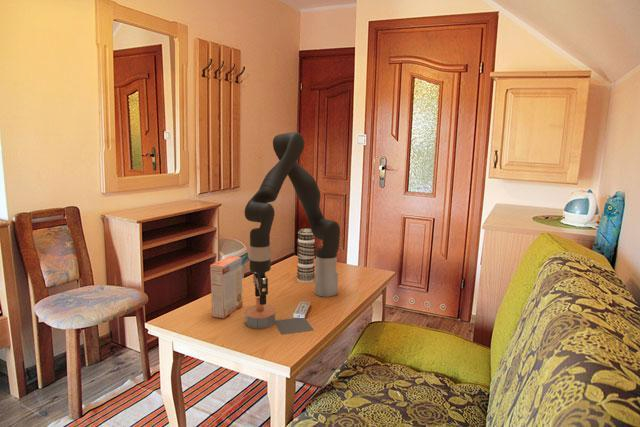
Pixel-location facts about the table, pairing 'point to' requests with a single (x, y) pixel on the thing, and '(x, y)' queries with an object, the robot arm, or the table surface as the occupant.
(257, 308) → the lid
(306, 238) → the decorative candle
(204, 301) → the table surface
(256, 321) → the bowl
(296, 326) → the mat
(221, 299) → the cracker box
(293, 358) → the table surface
